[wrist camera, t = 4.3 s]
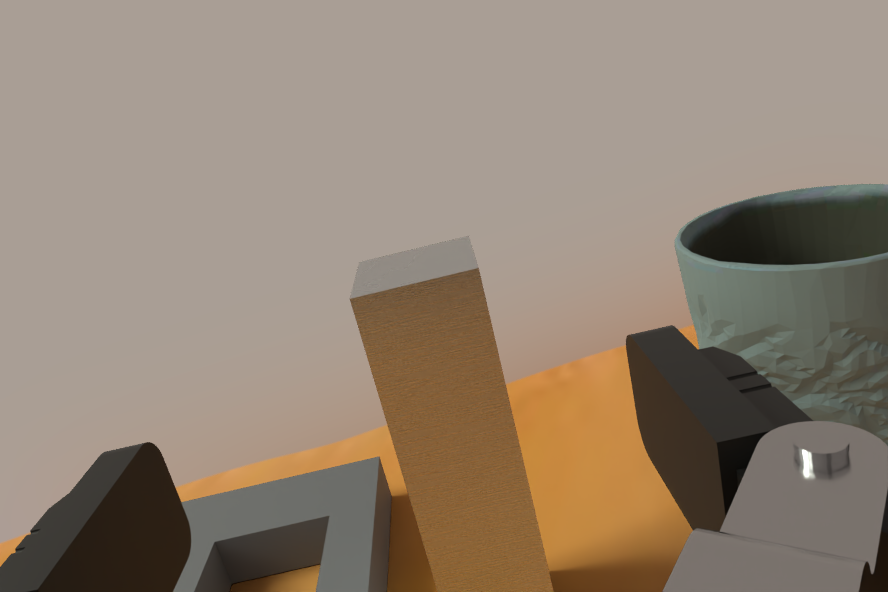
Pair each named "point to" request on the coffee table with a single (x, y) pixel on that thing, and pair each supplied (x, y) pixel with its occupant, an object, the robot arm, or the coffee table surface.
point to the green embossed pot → (799, 295)
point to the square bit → (450, 417)
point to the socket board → (294, 531)
